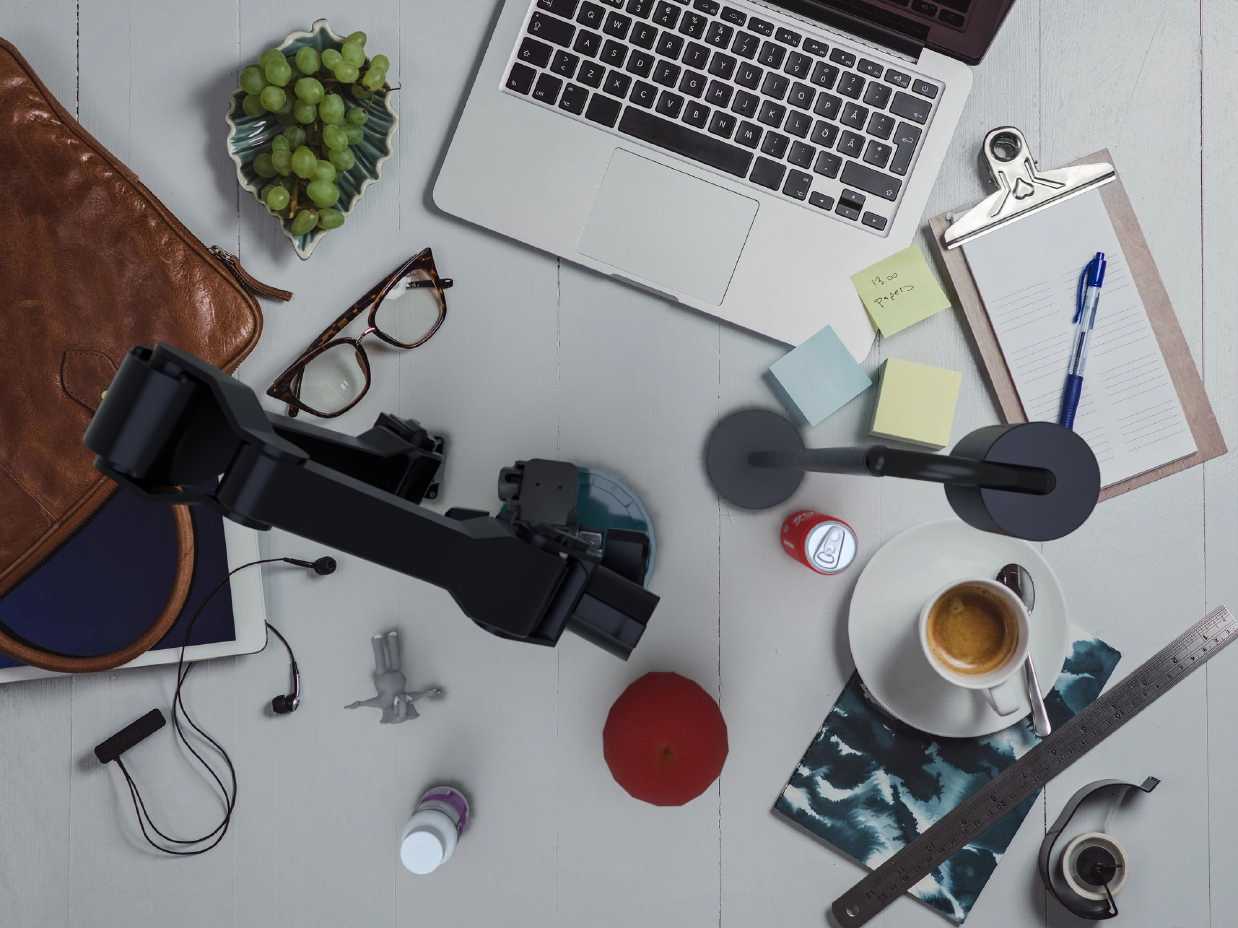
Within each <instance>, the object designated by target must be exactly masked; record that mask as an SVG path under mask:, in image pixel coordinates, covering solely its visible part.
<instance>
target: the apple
mask: <svg viewBox="0 0 1238 928" xmlns="http://www.w3.org/2000/svg"><path fill="white" fill-rule="evenodd" d="M726 723H727V722H726V720H725V718H724V715H723V714H722V711H721V709H720V706H719V704H718V702H717V701H716V700H715V699H714V697H712V695H710V693H708V692H707V691H706V690H705V689H704V688H703V687H702V686H701V685H700V684H699V683H698V682H697V681H695V680H693V679H692V678H689V677H687V676H684V675H682V674H680V673H678V672H675V671H648V672H646V673H645V674H643V675H642V676H640V677H638V678H637V679H635V680H634V681H632V682H630V683H629V684H628V686H627V687H626V688H625V689H624V690H623V691H622V693H621V694H620V695H619V696H618V697H617V698H616V699H615V701H614V702H613V704H612V705H611V707H610V708H609V710H608V714H607V717H606V720H605V723H604V726H603V729H602V750H603V751H602V752H603V753H602V755H603V759H604V762H605V763H606V765H607V767H608V769H609V772H610V774H611V775H612V778H613V780H614V781H615V782H616V783H617V784H618V786H620V787H621V788H622V789H623V790H624V791H625V792H626V793H627V794H628V795H629V796H630V798H633V799H635V800H639V801H640V802H641V801H642V802H644V803H647V804H649V805H653V806H655V807H660V808H661V807H682V806H685V805H686V804H687V803H690V802H691V801H693V800H694V799H696V798H699V797H700V796H702V795H703V794H704V793H705V792H706V791H707V790H708V789H709V788H710V786H711V785H713V783H714V782H715V781H716V780H717V779H718V778H719V777H720V776H721V774H722V772H723V768H724V766H725V763H726V761H727V757H728V756H729V752H730V748H729V747H730V746H729V736H728V735H729V734H728V725H727V724H726Z"/></svg>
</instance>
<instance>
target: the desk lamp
mask: <svg viewBox="0 0 1238 928" xmlns="http://www.w3.org/2000/svg"><path fill="white" fill-rule="evenodd" d="M704 460H705V468H706V474H707V475H708V478H709V481H710V483H711V485H712V486H713V488H714V490H716V492H717V493H718V494H719V495H720V496H721V497H723V499H725V500H727V501H728V502H729V503H731V504H733V505H735V506H738V507H741V508H744V509H749V510H763V509H768V508H772V507H774V506H775V507H776V506H777V505H779V504H781V503H783V502H784V501H786V500H787V499H788V498H789V497H791V496H792V495H793V494H794V493H795V491H796V490H797V489H798V487H799V486H800V484H801V482H802V480H803V478H804V475H805V472H809V473H821V474H833V475H834V474H835V475H846V476H847V475H848V476H860V477H870V478H871V477H872V478H883V477H889V478H890V477H891V478H897V479H906V480H914V481H921V482H922V481H923V482H930V483H937V484H943V490H944V494H945V497H946V500H947V502H948V504H949V506H950V507H951V509H952V510H953V512H954V513H955V514H956V516H957V517H958V518H959V519H960V520H962V521H963V523H965V524H967V525H969V527H972V528H974V529H976V530H978V531H981V532H986V533H990V534H994V535H999V536H1004V537H1009V538H1014V539H1019V540H1023V541H1028V542H1035V543H1036V542H1037V543H1043V542H1051V541H1055V540H1059V539H1062V538H1064V537H1067V536H1068V535H1070V534H1072V533H1073V532H1075V531H1076V530H1078V529H1079V528H1080V527H1081V526H1083V524H1085V522H1086V521H1087V520H1088V519H1089V518H1090V516H1091V515H1092V513H1093V512H1094V510H1095V508H1096V506H1097V503H1098V502H1099V501H1098V500H1099V497H1100V493H1101V483H1102V479H1101V469H1100V465H1099V462H1098V460H1097V457H1096V455H1095V453H1094V451H1093V449H1092V448H1091V446H1090V445H1089V444H1088V443H1087V442H1086V441H1085V439H1084V438H1083V437H1082V436H1080V435H1079V434H1078V433H1077V432H1075V431H1074V430H1073V429H1071V428H1069V427H1067V426H1064V425H1063V424H1060V423H1056V422H1052V421H1044V420H1043V421H1042V420H1037V421H1023V422H1014V423H1013V422H1012V423H1003V424H1002V423H1000V424H992V425H991V424H990V425H986V426H982V427H979V428H976V429H974V430H973V431H970V432H969V433H967V434H965V435H964V436H963V437H962V438H960V439H959V440H958V442H956V443H955V445H954V446H953V448H952V449H951V451H950V452H949V454H948V455H947V454H940V453H930V452H923V451H915V450H907V449H900V448H899V449H898V448H891V447H888V446H886V445H883V444H872V445H855V446H837V447H816V448H814V447H813V448H806V447H805V444H804V441H803V438H802V437H801V434H800V433H799V432H798V430H797V428H795V426H794V425H793V424H792V423H791V422H790V421H789V420H787V419H786V418H785V417H783V416H782V415H780V414H777V413H775V412H773V411H769V410H764V409H748V410H744V411H741V412H738V413H735V414H733V415H731V416H729V417H728V418H726V419H724V420H723V421H722V422H721V423H720V424H719V425H718V426H717V427H716V428H715V430H714V431H713V433H712V435H711V436H710V438H709V440H708V443H707V446H706V450H705V459H704Z"/></svg>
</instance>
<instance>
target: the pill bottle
mask: <svg viewBox="0 0 1238 928" xmlns="http://www.w3.org/2000/svg"><path fill="white" fill-rule="evenodd" d="M469 817H470V806H469V803H468V800H467V799H466V797H465V795H463V793H462V792H460V791H459V790H458V789H456V788H454V787H451V786H448V785H440V786H437V787H433V788H431V789H429V790H428V791H427V792H426V793H424V794H423V796H422V797H421V799H420V800H419V802H418V803H417V805H416V807H415V808H414V810H413V811H412V813H411V815H410V817H409V818H408V819H407V821H406V823H405V824H404V826H403V828H402V832H401V838H400V852H399V855H400V860H401V862H402V864H403V866H404V867H405V868H406V869H407V870H408V871H410V872H411V873H414V874H417V875H426V874H430V873H432V872H433V871H435V870H436V869H437V868H438V867H439V866H441V865H443V864H444V863H445V862H447V861H448V860H449V859H450V858H451V857H452V855H453V854H454V853H455V850H456V849H457V846H458V843H459V842H460V839H461V837H462V835H463V833H464V830H465V829H466V826H467V824H468V822H469Z"/></svg>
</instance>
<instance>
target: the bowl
mask: <svg viewBox="0 0 1238 928" xmlns="http://www.w3.org/2000/svg"><path fill="white" fill-rule="evenodd" d="M574 465H575V466H576V467H577V468H578V471H579V491H578V497H577V503H576V511H577V512H578V522H577V523H581V524H589V525H596V526H600V527H601V528H602V529H603V531H604V536H603V544H602V549H603V550H602V555H604V551H605V543H606V536H607V529H608V527H613V528H623V529H631V530H638V531H644V532H645V533H646V534H647V535H648V537H649V538H650V542H649V551H648V558H647V566H646V574H645V581H644V588H645V589H647V588H648V585H649V583H650V581H651V579H652V577H653V575H654V573H655V564H656V555H657V549H658V548H657V546H658V545H657V540H656V534H655V529H654V523H653V519H652V516H651V515H650V513H649V511H648V509H647V507H646V505H645V504H644V502H643V500H642V498H641V496H640V495H639V494H638V493H637V492H636V491H634V490H633V488H632V487H631V486H629V485H628V483H626V482H625V481H624V480H623V479H622V478H620V477H618V476H616V475H614V474H612V473H610V472H607V471H605V470H603V469H601V468H598V467H594V466H585V465H578V464H574ZM507 504H508V502H503V504H502V506H501V508H500V510H499V512H498V514H499V513H505V514H513V515H514V512H515V511H511V510H507ZM564 631H566V632H569V631H568V630H566V629H564ZM564 631H563V632H564Z"/></svg>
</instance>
